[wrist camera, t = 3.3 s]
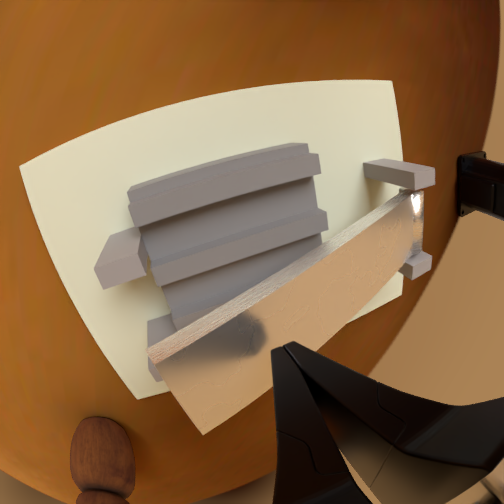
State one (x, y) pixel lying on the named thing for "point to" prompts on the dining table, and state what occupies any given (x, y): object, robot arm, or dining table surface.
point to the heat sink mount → (213, 204)
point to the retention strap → (286, 313)
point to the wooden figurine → (102, 462)
